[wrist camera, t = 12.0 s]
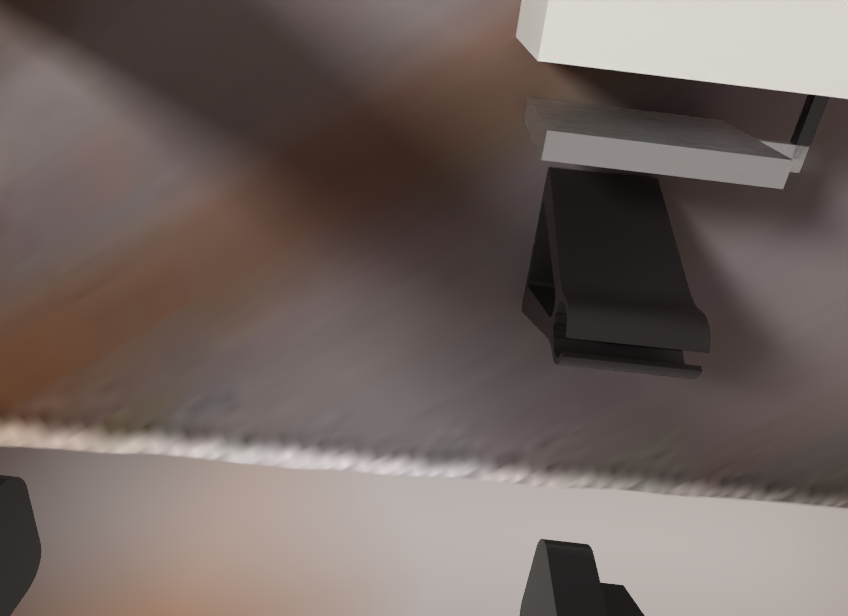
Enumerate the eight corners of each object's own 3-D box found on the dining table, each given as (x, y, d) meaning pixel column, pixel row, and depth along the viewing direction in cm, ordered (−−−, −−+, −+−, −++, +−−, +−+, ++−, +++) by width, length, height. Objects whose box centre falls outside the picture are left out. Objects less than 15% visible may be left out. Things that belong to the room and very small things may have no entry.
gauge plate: (523, 119, 33) (541, 160, 26) (556, -69, 29) (588, -82, 22) (757, 148, 33) (838, 195, 26) (822, -36, 29) (938, -38, 22)
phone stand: (548, 164, 35) (587, 247, 25) (656, 177, 35) (741, 265, 25) (520, 308, 40) (543, 431, 29) (617, 319, 40) (675, 446, 29)
